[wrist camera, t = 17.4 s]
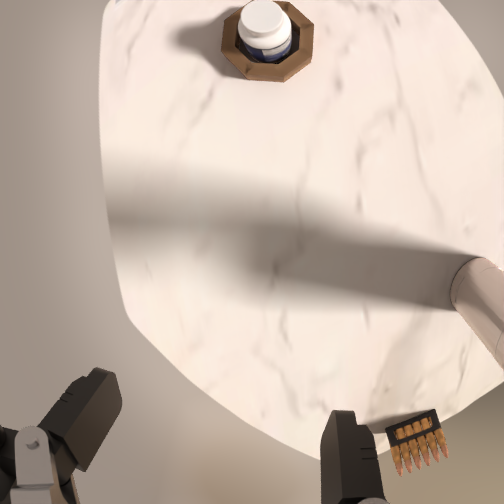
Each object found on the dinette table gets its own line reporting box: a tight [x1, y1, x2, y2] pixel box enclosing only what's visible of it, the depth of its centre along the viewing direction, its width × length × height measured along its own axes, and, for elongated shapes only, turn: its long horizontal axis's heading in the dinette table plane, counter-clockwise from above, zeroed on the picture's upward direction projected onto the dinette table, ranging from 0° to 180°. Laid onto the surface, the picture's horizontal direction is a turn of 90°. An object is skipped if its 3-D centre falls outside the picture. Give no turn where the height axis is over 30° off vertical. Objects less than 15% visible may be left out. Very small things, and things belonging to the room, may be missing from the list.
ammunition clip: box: [385, 409, 448, 476], centre depth 42 cm, size 11×2×12 cm, turn 116°
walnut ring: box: [221, 0, 314, 82], centre depth 29 cm, size 10×10×3 cm
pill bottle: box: [238, 0, 292, 64], centre depth 26 cm, size 5×5×10 cm
